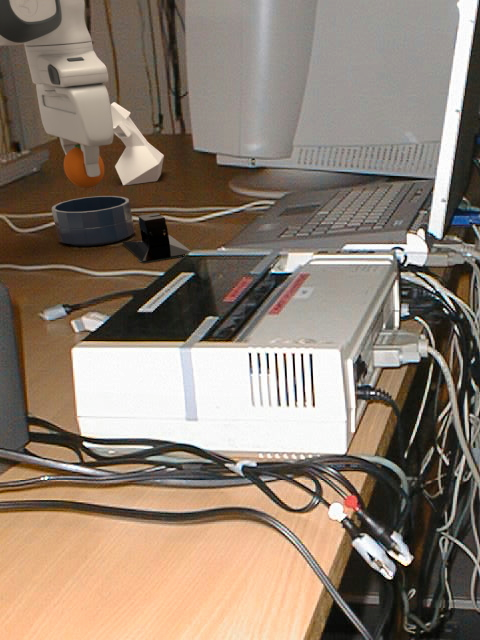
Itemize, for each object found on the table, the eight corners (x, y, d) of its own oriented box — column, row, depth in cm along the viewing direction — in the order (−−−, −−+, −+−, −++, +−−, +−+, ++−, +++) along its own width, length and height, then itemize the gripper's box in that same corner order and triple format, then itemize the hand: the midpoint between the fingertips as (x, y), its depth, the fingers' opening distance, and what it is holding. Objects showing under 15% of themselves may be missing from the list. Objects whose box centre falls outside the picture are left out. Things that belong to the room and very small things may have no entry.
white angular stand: (167, 170, 183) (156, 96, 176) (160, 184, 171) (147, 104, 164) (125, 173, 182) (112, 99, 175) (115, 187, 170) (100, 107, 163)
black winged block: (193, 255, 125) (188, 221, 122) (141, 264, 122) (135, 229, 120) (169, 236, 134) (164, 204, 132) (120, 244, 132) (114, 211, 129)
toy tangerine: (75, 193, 129) (66, 149, 126) (63, 187, 133) (53, 145, 130) (113, 186, 131) (105, 144, 128) (100, 181, 135) (91, 140, 132)
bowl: (74, 252, 129) (66, 216, 126) (49, 238, 137) (42, 204, 134) (146, 238, 134) (140, 203, 132) (119, 225, 142) (112, 192, 140)
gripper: (18, 66, 130) (41, 167, 137) (64, 73, 115) (87, 186, 122) (61, 62, 133) (82, 161, 140) (111, 68, 118) (132, 178, 125)
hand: (85, 173), depth 131 cm, fingers closed on toy tangerine, 5 cm apart
